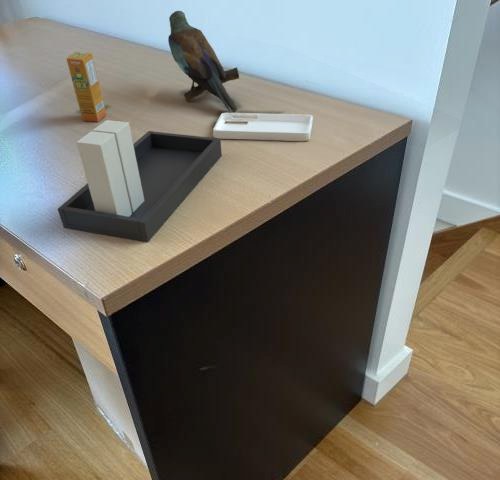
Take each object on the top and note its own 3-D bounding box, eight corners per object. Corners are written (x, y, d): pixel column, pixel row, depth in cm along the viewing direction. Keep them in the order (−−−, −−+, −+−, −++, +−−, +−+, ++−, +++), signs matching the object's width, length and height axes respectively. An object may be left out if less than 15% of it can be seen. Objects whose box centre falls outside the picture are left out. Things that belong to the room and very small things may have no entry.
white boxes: (98, 223, 62) (75, 141, 55) (124, 197, 66) (106, 119, 59) (120, 226, 61) (100, 144, 54) (144, 201, 65) (129, 122, 58)
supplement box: (80, 121, 87) (63, 57, 80) (90, 114, 89) (75, 50, 82) (98, 122, 86) (82, 58, 79) (107, 115, 88) (93, 51, 82)
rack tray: (63, 227, 62) (57, 208, 60) (151, 147, 78) (148, 130, 76) (148, 242, 59) (144, 222, 57) (221, 155, 75) (220, 138, 73)
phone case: (213, 138, 80) (309, 141, 78) (212, 130, 79) (309, 132, 77) (222, 120, 85) (312, 122, 83) (221, 112, 84) (313, 114, 82)
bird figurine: (265, 104, 87) (228, -24, 82) (214, 118, 84) (172, -14, 79) (236, 124, 99) (202, 13, 94) (190, 137, 96) (152, 23, 91)
